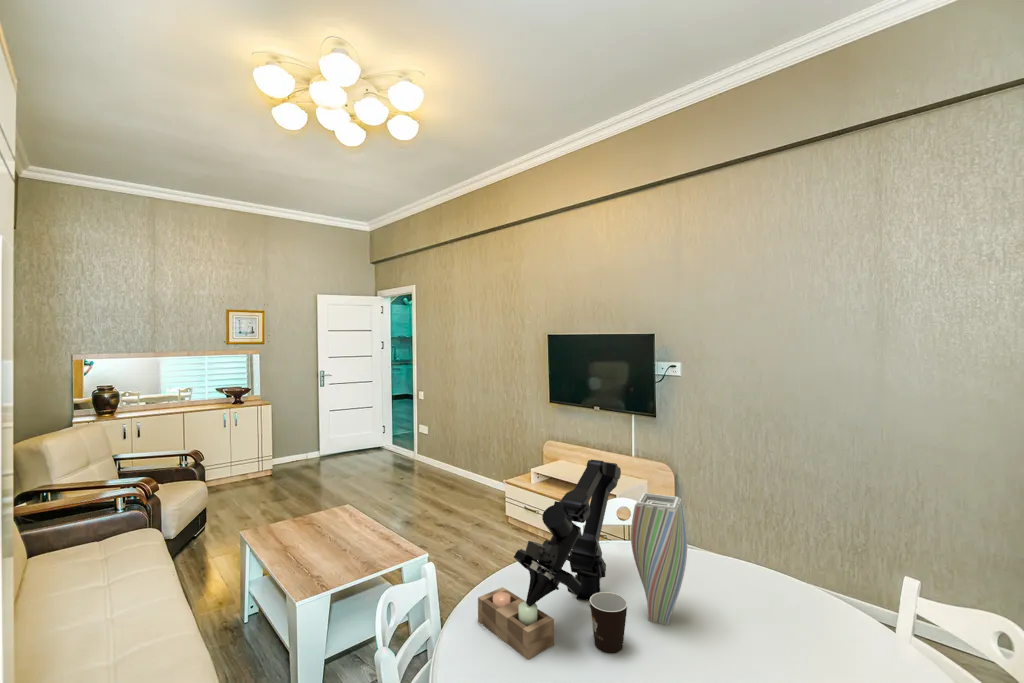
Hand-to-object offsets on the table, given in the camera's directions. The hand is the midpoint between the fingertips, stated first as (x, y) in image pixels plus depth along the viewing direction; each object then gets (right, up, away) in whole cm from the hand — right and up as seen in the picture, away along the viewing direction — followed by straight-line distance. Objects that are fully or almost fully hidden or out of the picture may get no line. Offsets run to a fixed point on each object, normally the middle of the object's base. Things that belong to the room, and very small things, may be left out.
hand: (527, 604), depth 110 cm
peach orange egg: (-6, -7, +7) cm, 12 cm away
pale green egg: (0, -5, 0) cm, 5 cm away
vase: (+34, -9, +10) cm, 36 cm away
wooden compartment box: (-3, -9, +4) cm, 10 cm away
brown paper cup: (+19, -9, 0) cm, 21 cm away
